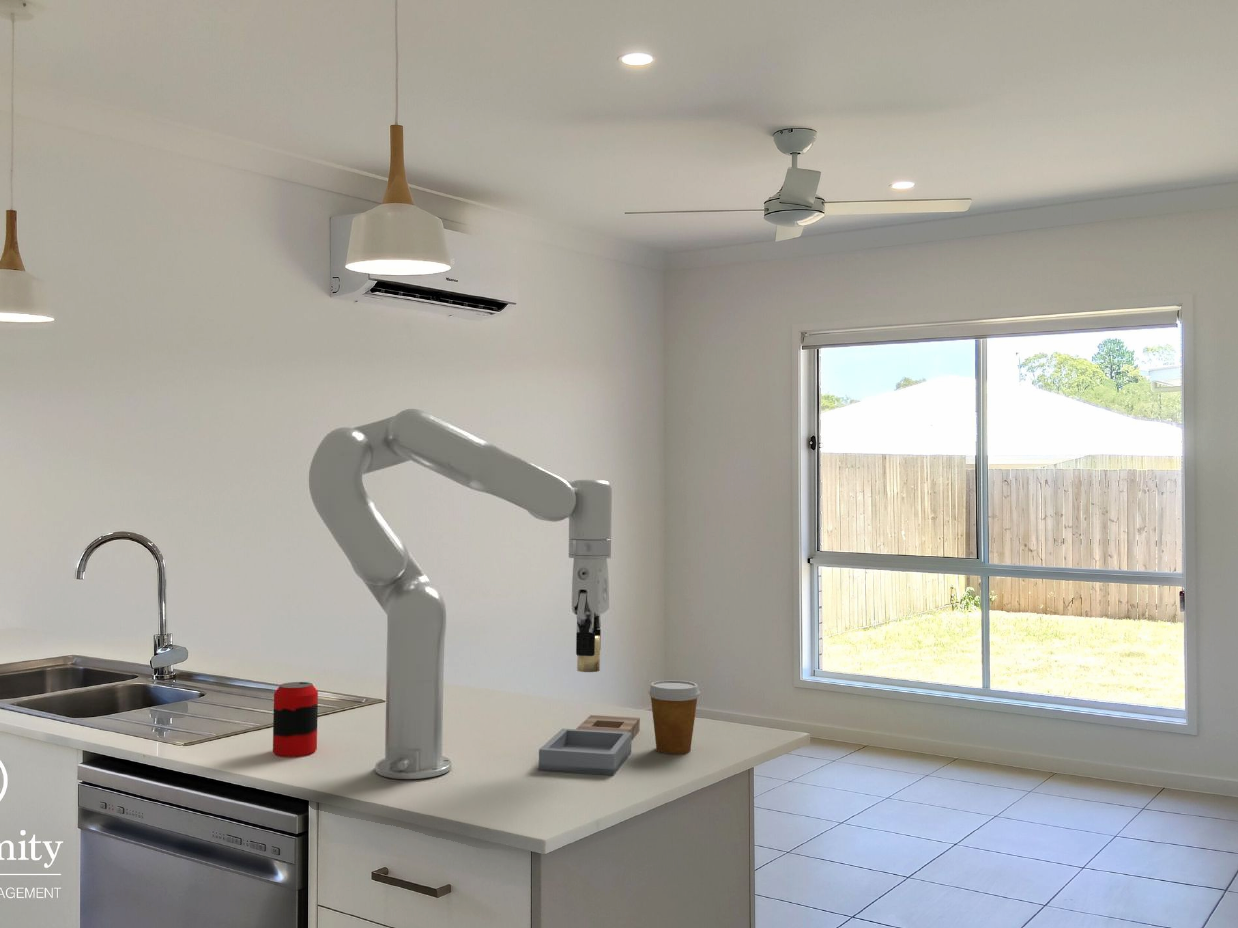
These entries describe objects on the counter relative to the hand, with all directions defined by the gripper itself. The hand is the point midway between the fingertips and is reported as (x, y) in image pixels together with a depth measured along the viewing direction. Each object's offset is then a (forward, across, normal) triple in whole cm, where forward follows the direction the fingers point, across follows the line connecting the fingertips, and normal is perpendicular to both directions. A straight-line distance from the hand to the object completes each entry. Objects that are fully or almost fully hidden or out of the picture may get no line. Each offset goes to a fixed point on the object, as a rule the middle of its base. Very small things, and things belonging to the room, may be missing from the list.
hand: (588, 652), depth 184 cm
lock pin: (+3, 0, 0) cm, 3 cm away
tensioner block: (+19, +18, 0) cm, 26 cm away
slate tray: (+19, 0, 0) cm, 19 cm away
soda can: (+19, -7, +52) cm, 56 cm away
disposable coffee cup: (+19, +11, -14) cm, 26 cm away
